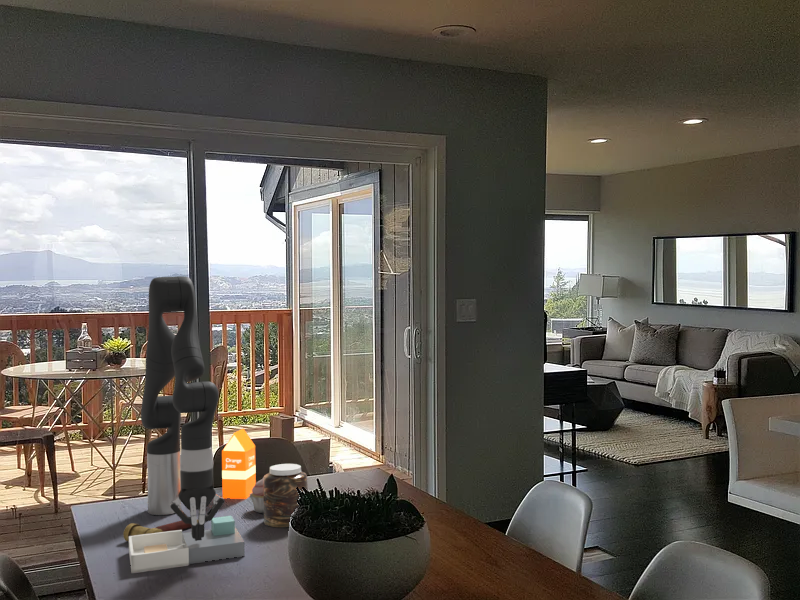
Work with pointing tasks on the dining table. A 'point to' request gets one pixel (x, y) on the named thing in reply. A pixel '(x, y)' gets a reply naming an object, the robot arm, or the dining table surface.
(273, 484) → the jar
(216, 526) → the seafoam green cuboid
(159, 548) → the thick tan wooden block
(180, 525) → the gavel
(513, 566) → the dining table surface
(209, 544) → the board
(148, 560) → the tray
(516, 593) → the dining table surface
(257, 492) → the cupcake
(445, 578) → the dining table surface
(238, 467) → the orange juice
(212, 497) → the robot arm
